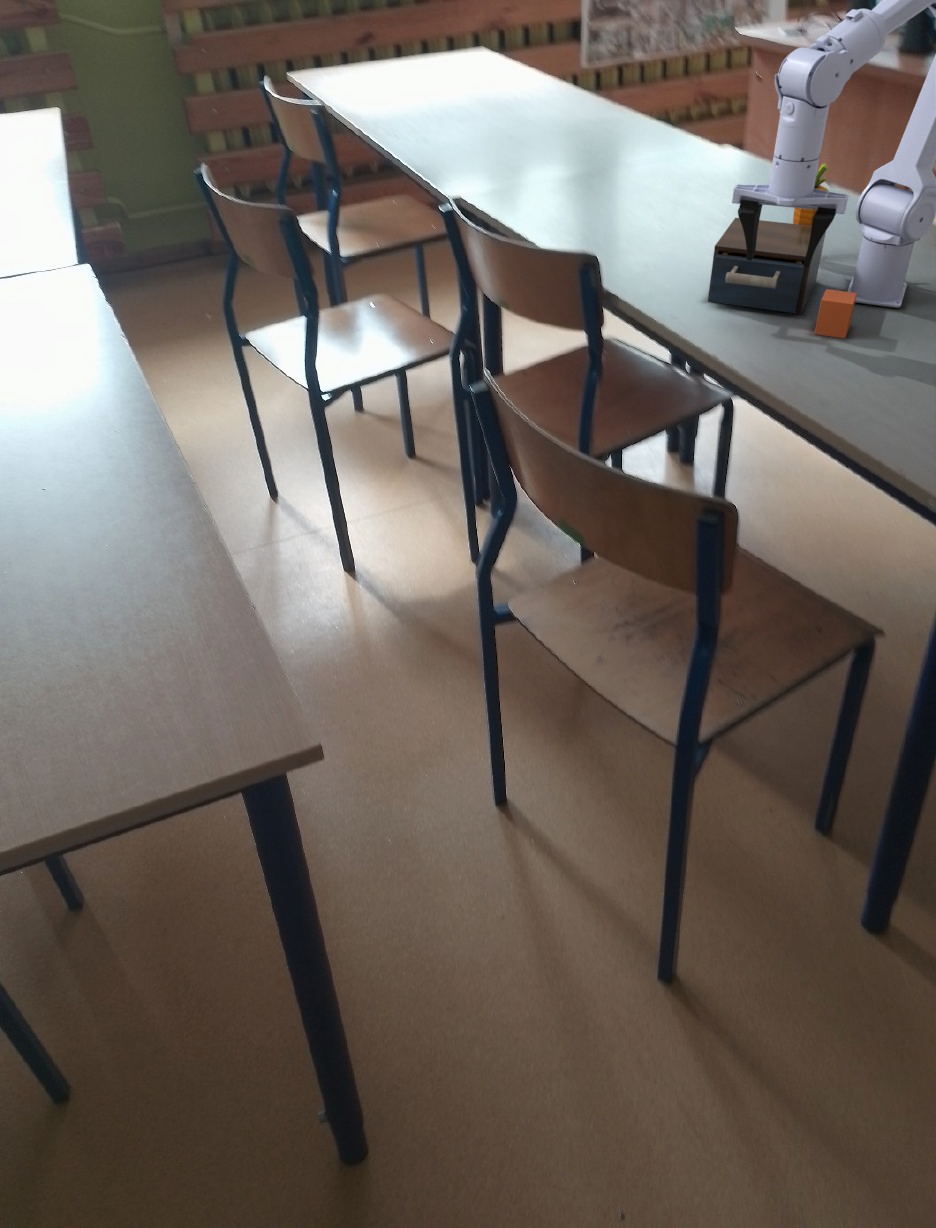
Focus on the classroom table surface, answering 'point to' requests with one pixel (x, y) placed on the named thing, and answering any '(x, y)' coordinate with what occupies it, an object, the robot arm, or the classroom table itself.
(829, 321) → the block
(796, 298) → the drawer
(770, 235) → the cabinet
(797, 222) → the carrot
